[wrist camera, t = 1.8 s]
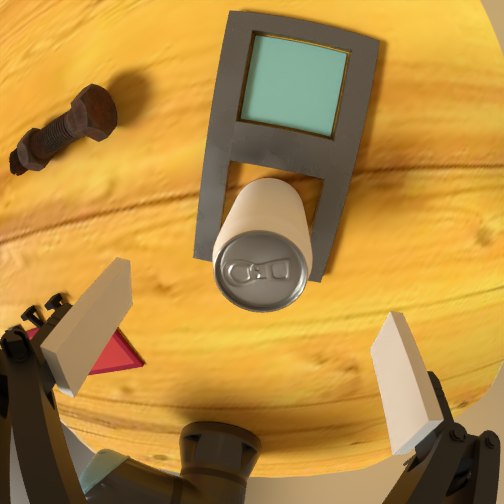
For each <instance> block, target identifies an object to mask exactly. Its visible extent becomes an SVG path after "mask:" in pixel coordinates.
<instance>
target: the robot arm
mask: <svg viewBox="0 0 504 504" xmlns="http://www.w3.org/2000/svg"><path fill="white" fill-rule="evenodd" d="M132 305H133V301H132V287H131V270H130V261H129V260H125V259H121V258H116V259H115V260H114V261H113V262H112V263H111V264H110V265H109V266H108V267H107V269H106V270H105V271H104V272H103V273H102V274H101V275H100V276H99V277H98V278H97V279H96V280H95V282H94V283H93V284H92V285H91V286H90V287H89V288H88V289H87V290H86V292H85V293H84V294H83V295H82V296H81V297H80V298H79V300H78V301H77V302H76V303H75V304H74V305H71V304H68V303H66V304H64V305H62V306H61V307H59V308H57V309H56V311H55V312H54V313H53V314H52V315H51V317H49V318H48V320H47V321H46V323H44V324H43V325H42V327H41V328H40V329H39V330H38V331H37V333H36V334H35V335H34V336H33V337H32V339H31V340H30V339H29V336H28V334H27V333H26V332H25V331H24V330H22V329H12V330H9V331H7V332H6V333H5V334H4V335H3V336H2V337H1V339H0V345H1V347H2V349H3V350H1V349H0V504H11V502H10V477H9V476H10V474H9V472H10V469H9V468H10V440H11V426H12V427H13V433H14V440H15V445H16V451H17V455H18V460H19V465H20V469H21V473H22V477H23V481H24V485H25V488H26V492H27V495H28V499H29V502H30V504H244V501H245V493H246V485H247V479H248V477H249V476H250V474H251V472H252V470H253V468H254V466H255V464H256V462H257V460H258V458H259V456H260V450H261V443H260V441H259V439H258V438H257V437H256V436H255V435H253V434H252V433H250V432H248V431H246V430H244V429H241V428H238V427H235V426H232V425H228V424H223V423H215V422H198V423H192V424H189V425H187V426H185V427H184V428H183V429H182V432H181V436H180V439H179V445H180V455H181V465H182V469H181V473H180V477H178V476H175V475H172V474H169V473H166V472H164V471H161V470H158V469H156V468H153V467H151V466H148V465H146V464H143V463H141V462H139V461H136V460H134V459H132V458H130V456H125V455H122V454H120V453H118V452H115V451H113V450H110V449H102V450H100V451H98V452H97V453H96V454H95V456H94V457H93V458H92V460H91V461H90V462H89V464H88V466H87V467H86V468H85V470H84V471H83V473H82V475H81V477H80V478H79V480H78V477H77V474H76V472H75V469H74V466H73V463H72V460H71V457H70V454H69V451H68V447H67V444H66V440H65V437H64V433H63V430H62V426H61V422H60V418H59V414H58V410H57V405H56V401H55V396H54V392H53V390H52V388H53V387H54V385H55V384H57V386H58V388H59V390H60V391H61V392H63V393H65V394H67V395H69V396H71V397H74V398H75V396H76V394H77V393H78V391H79V389H80V387H81V386H82V384H83V382H84V381H85V379H86V377H87V376H88V374H89V372H90V371H91V369H92V367H93V366H94V364H95V362H96V361H97V359H98V358H99V356H100V354H101V353H102V351H103V349H104V348H105V346H106V345H107V343H108V342H109V340H110V338H111V337H112V335H113V334H114V332H115V331H116V329H117V328H118V326H119V324H120V323H121V321H122V320H123V318H124V317H125V315H126V314H127V312H128V311H129V309H130V308H131V306H132ZM370 352H371V356H372V360H373V364H374V368H375V372H376V377H377V381H378V385H379V390H380V394H381V399H382V403H383V408H384V413H385V417H386V422H387V428H388V433H389V438H390V444H391V449H392V455H399V454H407V453H409V452H410V451H411V450H412V449H413V448H414V447H415V451H416V454H415V455H413V456H412V457H411V458H410V459H409V460H407V461H406V462H405V463H404V464H403V465H404V466H405V465H407V464H408V465H407V467H406V468H405V470H404V472H403V473H402V475H401V476H400V478H399V480H398V481H397V483H396V484H395V486H394V487H393V489H392V490H391V492H390V493H389V494H388V496H387V498H386V499H385V500H384V502H383V503H382V504H496V499H497V490H498V481H499V466H500V440H499V438H498V436H497V435H496V434H495V433H494V432H493V431H490V430H487V431H484V432H483V433H482V434H481V435H480V436H474V435H470V434H467V432H466V430H465V428H464V427H463V426H462V425H460V424H458V423H454V420H453V417H452V414H451V411H450V408H449V406H448V403H447V400H446V397H444V396H445V395H444V392H443V390H442V387H441V384H440V381H439V379H438V378H437V377H436V375H435V374H434V373H433V372H432V371H427V370H426V368H425V365H424V362H423V360H422V357H421V355H420V352H419V350H418V348H417V345H416V343H415V340H414V338H413V336H412V333H411V331H410V329H409V326H408V324H407V322H406V319H405V317H404V315H403V313H400V312H393V311H390V312H389V314H388V316H387V318H386V320H385V322H384V324H383V326H382V328H381V330H380V332H379V334H378V336H377V337H376V339H375V341H374V343H373V345H372V347H371V348H370ZM470 473H471V474H470Z"/></svg>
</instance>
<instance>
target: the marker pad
mask: <svg viewBox="0 0 504 504" xmlns="http://www.w3.org/2000/svg"><path fill="white" fill-rule="evenodd" d="M346 55H347V54H345V53H342V52H338V51H334V50H330V49H326V48H322V47H318V46H313V45H309V44H304V43H299V42H294V41H288V40H283V39H277V38H270V37H263V36H256V37H255V42H254V47H253V52H252V57H251V63H250V68H249V73H248V79H247V84H246V90H245V96H244V101H243V107H242V113H241V119H245V120H252V121H258V122H263V123H269V124H274V125H280V126H285V127H290V128H295V129H299V130H304V131H308V132H313V133H317V134H321V135H326V136H330V135H331V131H332V126H333V121H334V116H335V112H336V107H337V102H338V97H339V92H340V87H341V82H342V76H343V71H344V66H345V60H346Z"/></svg>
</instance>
